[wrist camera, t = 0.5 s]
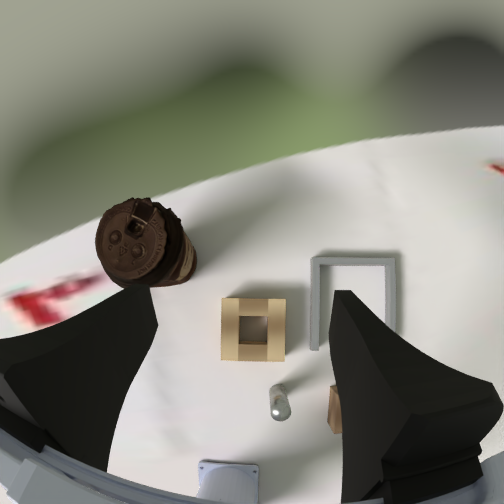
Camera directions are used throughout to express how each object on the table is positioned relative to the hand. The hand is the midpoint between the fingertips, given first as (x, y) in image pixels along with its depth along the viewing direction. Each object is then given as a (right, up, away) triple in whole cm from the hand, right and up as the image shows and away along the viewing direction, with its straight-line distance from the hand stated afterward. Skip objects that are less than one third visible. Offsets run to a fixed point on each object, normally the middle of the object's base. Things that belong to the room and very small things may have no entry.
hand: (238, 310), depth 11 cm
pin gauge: (+4, -15, +21) cm, 26 cm away
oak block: (+1, -7, +23) cm, 24 cm away
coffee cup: (-9, +1, +25) cm, 26 cm away
